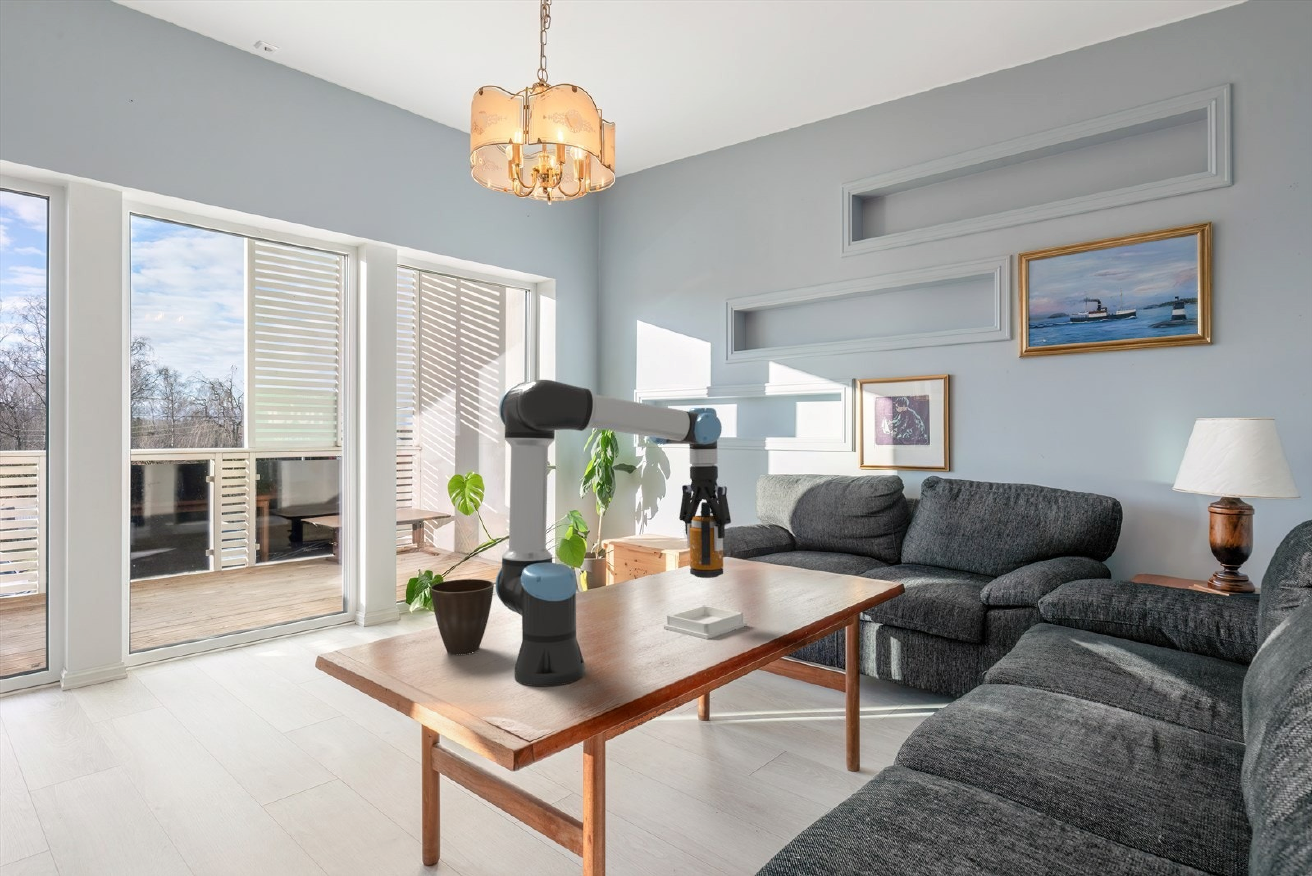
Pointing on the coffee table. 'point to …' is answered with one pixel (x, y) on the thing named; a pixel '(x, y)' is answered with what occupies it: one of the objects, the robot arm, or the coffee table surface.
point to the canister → (704, 546)
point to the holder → (705, 621)
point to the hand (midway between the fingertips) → (705, 548)
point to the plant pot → (462, 612)
